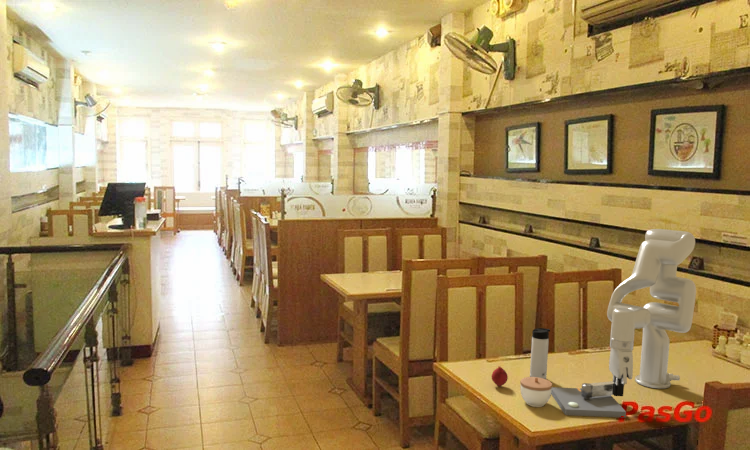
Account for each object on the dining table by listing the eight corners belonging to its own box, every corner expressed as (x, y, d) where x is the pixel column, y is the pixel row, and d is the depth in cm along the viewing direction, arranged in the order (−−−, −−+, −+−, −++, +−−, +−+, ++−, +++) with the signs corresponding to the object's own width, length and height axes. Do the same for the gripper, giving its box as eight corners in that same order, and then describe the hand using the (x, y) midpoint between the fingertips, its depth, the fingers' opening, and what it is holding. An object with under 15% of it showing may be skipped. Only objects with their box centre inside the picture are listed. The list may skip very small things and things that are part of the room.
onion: (507, 385, 231) (508, 364, 230) (505, 390, 225) (507, 369, 224) (492, 382, 233) (493, 362, 232) (490, 388, 227) (491, 367, 226)
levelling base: (605, 394, 224) (605, 387, 224) (625, 417, 204) (626, 409, 204) (550, 392, 224) (550, 385, 224) (565, 415, 204) (565, 407, 204)
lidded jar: (542, 412, 206) (544, 385, 205) (513, 403, 213) (515, 377, 212) (556, 403, 214) (557, 377, 213) (528, 395, 221) (529, 370, 220)
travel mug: (547, 382, 235) (550, 331, 232) (530, 380, 236) (532, 330, 234) (546, 376, 241) (549, 327, 239) (529, 375, 242) (532, 326, 240)
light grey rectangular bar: (585, 400, 212) (586, 387, 211) (578, 396, 215) (579, 383, 215) (620, 396, 216) (621, 383, 216) (614, 393, 219) (615, 380, 219)
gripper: (641, 351, 204) (637, 404, 206) (624, 338, 219) (620, 388, 221) (618, 350, 204) (614, 403, 206) (603, 337, 219) (599, 387, 221)
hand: (617, 395), depth 213 cm, fingers closed
